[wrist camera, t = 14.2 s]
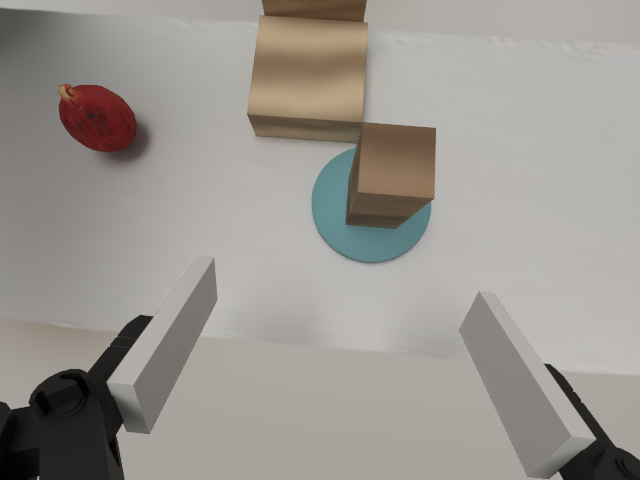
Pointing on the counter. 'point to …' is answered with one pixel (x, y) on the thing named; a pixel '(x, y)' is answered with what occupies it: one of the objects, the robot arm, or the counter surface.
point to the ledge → (309, 70)
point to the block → (390, 175)
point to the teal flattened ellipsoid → (358, 239)
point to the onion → (96, 117)
